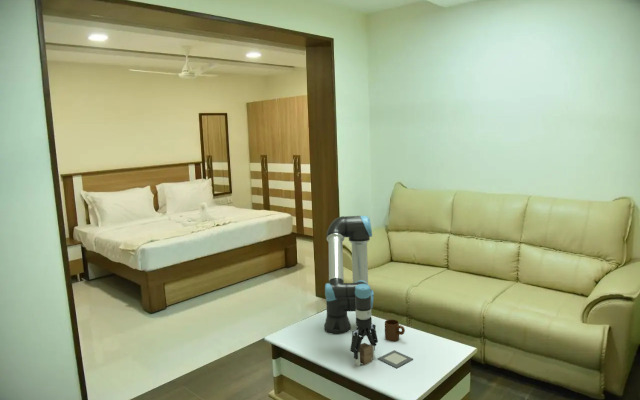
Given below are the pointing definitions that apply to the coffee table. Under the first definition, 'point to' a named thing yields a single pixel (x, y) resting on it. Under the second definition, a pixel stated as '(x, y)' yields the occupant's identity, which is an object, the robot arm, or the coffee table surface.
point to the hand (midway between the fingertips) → (364, 361)
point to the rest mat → (395, 359)
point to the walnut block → (365, 353)
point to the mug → (393, 330)
